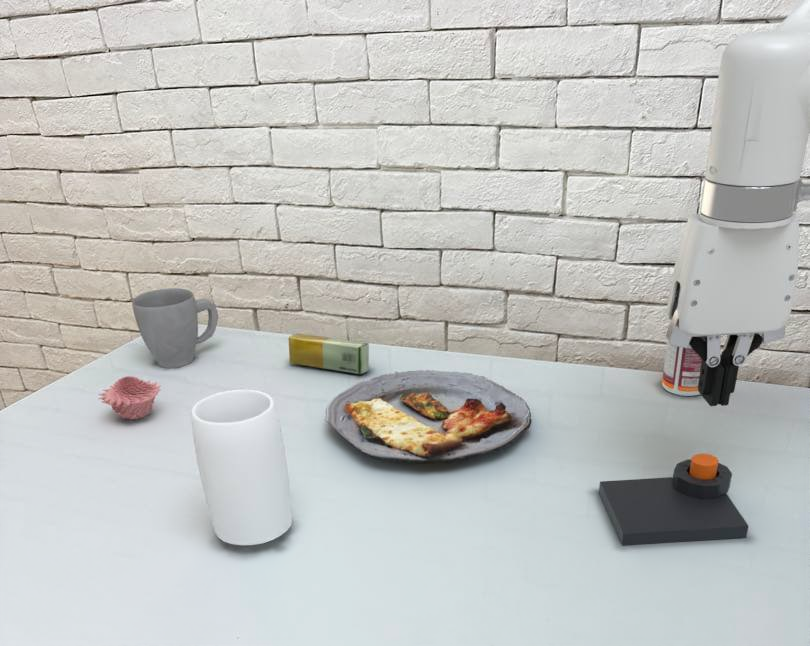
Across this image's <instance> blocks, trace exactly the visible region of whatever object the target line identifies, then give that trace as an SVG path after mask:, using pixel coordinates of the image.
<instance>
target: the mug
mask: <svg viewBox="0 0 810 646" xmlns="http://www.w3.org/2000/svg"><path fill="white" fill-rule="evenodd" d="M131 305H132V311H133V314H134V318H135V322H136V325H137V328H138V331H139V334H140V337H141V339H142V340H143V342H144V344H145V346H146V348H147V349H148V351H149V352H150V354H151V355H152V357H153V358H154V359H155V361H156V363H157V365H158V366H159V367H161V368H164V369H165V368H166V369H177V368H181V367H185V366H187V365H190V364H192V363H193V362H194V360H195V352H196V349H197V345H199V344H202V343H204V342H206V341H208V340H209V339H210V338H212V337H213V336H214V334H215V332H216V329H217V325H218V322H219V314H218V313H219V312H218V309H217V306H216V305H215V304H214V302H213V301H212V300H210V299H208V298H201V299H197V300H196V298H195V294H194V293H193V292H192V291H190V290H189V289H185V288H173V287H172V288H159V289H154V290H150V291H147V292H144V293H141V294H139V295H137V296H135V297H134V298H133V299H132V301H131ZM206 310H207V314H208V320H207V326H206V328H205V330H204V332H203V333H202V334H201V335H199V320H198V319H199V318H198V313H201V312H204V311H206Z"/></svg>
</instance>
